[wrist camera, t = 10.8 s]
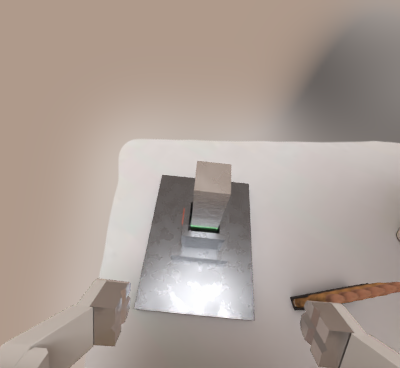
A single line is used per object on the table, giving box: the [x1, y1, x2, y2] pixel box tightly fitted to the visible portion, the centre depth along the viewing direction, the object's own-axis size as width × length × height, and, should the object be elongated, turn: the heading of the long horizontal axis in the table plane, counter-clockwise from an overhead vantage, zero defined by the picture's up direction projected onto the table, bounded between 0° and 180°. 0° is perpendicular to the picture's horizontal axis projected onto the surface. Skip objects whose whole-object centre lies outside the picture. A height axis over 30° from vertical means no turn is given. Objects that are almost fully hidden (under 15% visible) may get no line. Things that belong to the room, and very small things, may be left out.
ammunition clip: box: [290, 282, 400, 310], centre depth 30 cm, size 11×2×12 cm, turn 99°
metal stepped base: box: [134, 175, 255, 321], centre depth 35 cm, size 24×18×10 cm
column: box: [191, 161, 231, 233], centre depth 28 cm, size 4×4×14 cm
